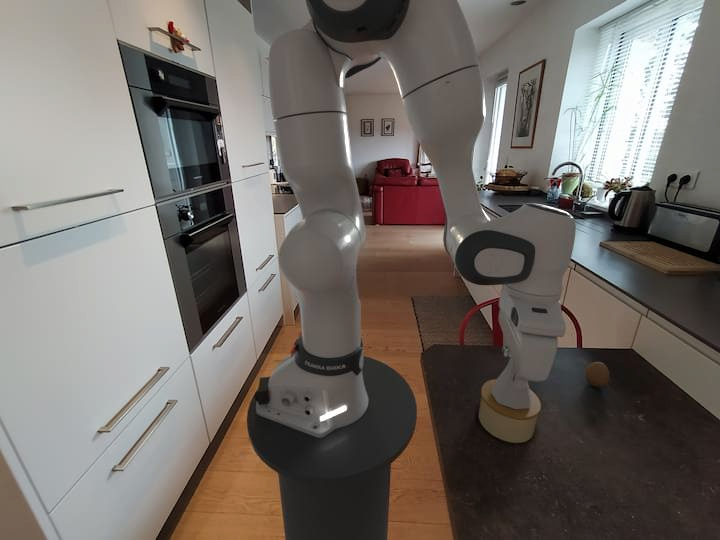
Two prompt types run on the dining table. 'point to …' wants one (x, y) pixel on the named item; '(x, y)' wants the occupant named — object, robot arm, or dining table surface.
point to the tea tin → (507, 417)
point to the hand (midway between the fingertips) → (512, 369)
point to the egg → (597, 374)
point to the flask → (510, 389)
